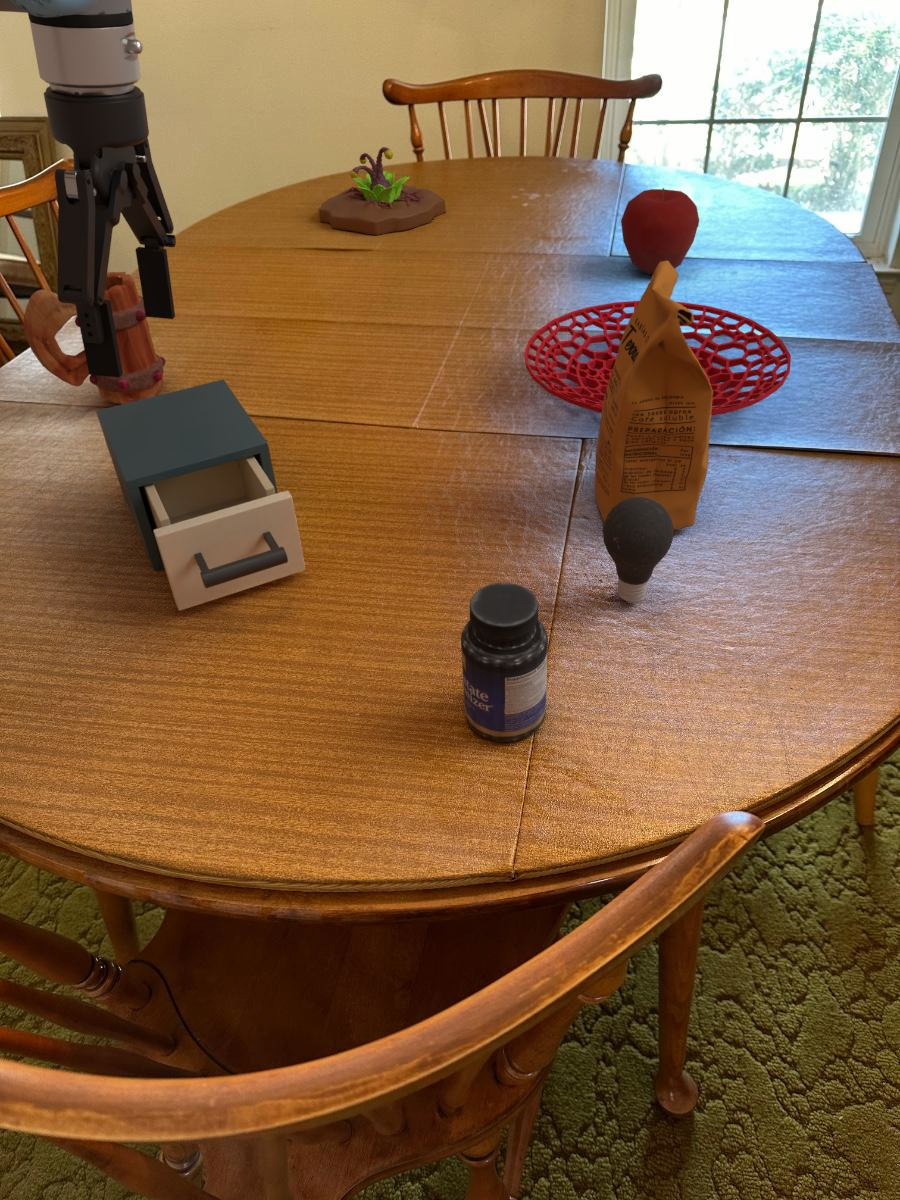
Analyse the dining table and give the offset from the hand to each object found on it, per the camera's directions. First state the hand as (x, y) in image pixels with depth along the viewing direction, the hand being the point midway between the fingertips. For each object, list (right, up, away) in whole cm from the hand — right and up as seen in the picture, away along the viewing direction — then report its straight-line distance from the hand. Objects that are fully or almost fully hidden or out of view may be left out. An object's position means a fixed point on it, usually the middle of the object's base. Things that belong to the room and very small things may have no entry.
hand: (135, 344), depth 86 cm
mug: (-11, 0, +27) cm, 29 cm away
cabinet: (+4, -15, +7) cm, 17 cm away
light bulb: (+45, -24, -6) cm, 51 cm away
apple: (+59, +24, +51) cm, 82 cm away
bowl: (+53, 0, +22) cm, 57 cm away
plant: (+17, +44, +77) cm, 90 cm away
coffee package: (+48, -14, +5) cm, 51 cm away
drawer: (+9, -20, -1) cm, 22 cm away
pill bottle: (+33, -33, -16) cm, 49 cm away
